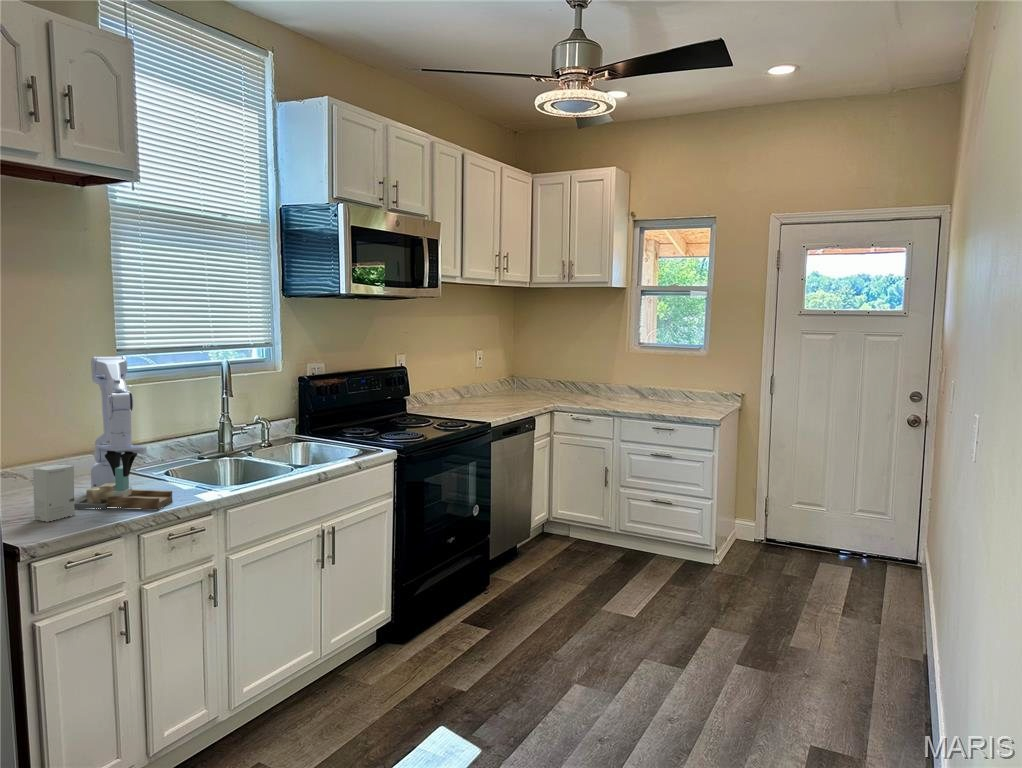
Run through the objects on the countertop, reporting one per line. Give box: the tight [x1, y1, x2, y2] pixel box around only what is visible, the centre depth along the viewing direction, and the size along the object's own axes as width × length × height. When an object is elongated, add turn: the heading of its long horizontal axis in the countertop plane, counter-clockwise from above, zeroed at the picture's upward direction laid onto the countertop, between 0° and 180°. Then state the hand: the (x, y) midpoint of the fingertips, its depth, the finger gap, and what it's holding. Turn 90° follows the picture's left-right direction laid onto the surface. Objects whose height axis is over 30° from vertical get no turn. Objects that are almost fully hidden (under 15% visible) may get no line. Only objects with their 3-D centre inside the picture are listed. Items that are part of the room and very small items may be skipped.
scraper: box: [113, 466, 133, 497], centre depth 211 cm, size 3×5×9 cm, turn 1°
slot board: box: [108, 489, 173, 510], centre depth 211 cm, size 15×9×4 cm, turn 90°
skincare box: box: [32, 463, 76, 523], centre depth 196 cm, size 8×6×15 cm
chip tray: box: [74, 497, 108, 510], centre depth 211 cm, size 10×12×2 cm
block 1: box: [86, 487, 108, 503], centre depth 211 cm, size 4×4×4 cm
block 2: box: [99, 483, 116, 499], centre depth 211 cm, size 4×4×4 cm
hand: (121, 475), depth 211 cm, fingers closed on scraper, 2 cm apart
